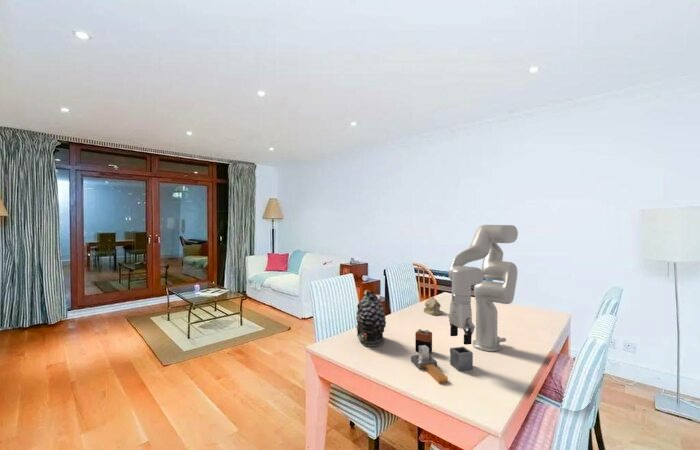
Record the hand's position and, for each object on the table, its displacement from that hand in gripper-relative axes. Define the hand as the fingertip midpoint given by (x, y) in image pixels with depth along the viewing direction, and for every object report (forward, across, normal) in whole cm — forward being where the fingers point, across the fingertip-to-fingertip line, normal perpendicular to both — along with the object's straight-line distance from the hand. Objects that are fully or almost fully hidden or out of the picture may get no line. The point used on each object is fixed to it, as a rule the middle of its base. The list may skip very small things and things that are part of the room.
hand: (460, 339), depth 133 cm
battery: (+12, -19, -7) cm, 23 cm away
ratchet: (+12, -1, -13) cm, 18 cm away
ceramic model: (+10, -74, +28) cm, 80 cm away
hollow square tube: (+12, -1, +1) cm, 12 cm away
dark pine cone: (+12, -38, -27) cm, 48 cm away
